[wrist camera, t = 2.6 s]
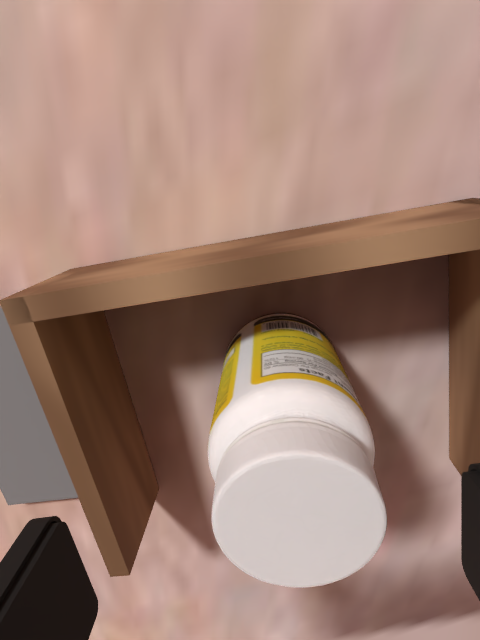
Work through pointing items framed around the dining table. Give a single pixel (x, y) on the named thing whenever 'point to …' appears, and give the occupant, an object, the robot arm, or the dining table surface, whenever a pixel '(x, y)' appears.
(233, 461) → the supplement bottle
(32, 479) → the slate coaster
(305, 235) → the walnut bay
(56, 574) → the robot arm
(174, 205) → the dining table surface
